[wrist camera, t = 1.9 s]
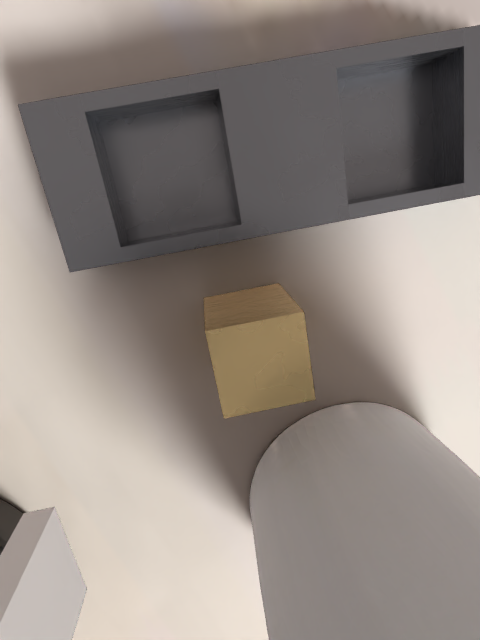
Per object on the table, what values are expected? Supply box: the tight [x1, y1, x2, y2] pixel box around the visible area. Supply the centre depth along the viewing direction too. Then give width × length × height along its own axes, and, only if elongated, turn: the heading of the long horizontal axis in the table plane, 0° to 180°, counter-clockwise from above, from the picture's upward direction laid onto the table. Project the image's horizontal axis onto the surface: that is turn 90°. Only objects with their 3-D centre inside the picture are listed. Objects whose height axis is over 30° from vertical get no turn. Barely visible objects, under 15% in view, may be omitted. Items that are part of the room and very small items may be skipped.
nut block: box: [204, 283, 316, 419], centre depth 21 cm, size 4×4×6 cm
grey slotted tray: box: [18, 25, 480, 272], centre depth 20 cm, size 22×7×3 cm, turn 100°
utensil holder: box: [250, 402, 480, 640], centre depth 20 cm, size 15×15×18 cm
